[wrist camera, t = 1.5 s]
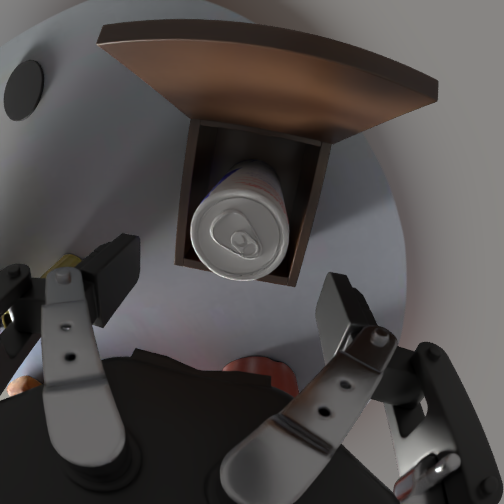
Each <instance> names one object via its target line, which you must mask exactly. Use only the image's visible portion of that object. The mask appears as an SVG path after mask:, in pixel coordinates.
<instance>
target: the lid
mask: <svg viewBox="0 0 504 504" xmlns="http://www.w3.org/2000/svg"><path fill="white" fill-rule="evenodd" d="M96 45H97V46H99V47H100V48H102V49H103V50H104V51H106V52H107V53H108V54H110V55H111V56H112V57H114V58H115V59H116V60H118V61H119V62H120V63H122V64H123V65H124V66H125V67H127V68H128V69H129V70H131V71H132V72H133V73H134V74H136V75H137V76H138V77H140V78H141V79H142V80H143V81H145V82H146V83H147V84H148V85H150V86H151V87H152V88H153V89H154V90H156V91H157V92H158V93H159V94H161V95H162V96H163V97H164V98H166V99H167V100H168V101H169V102H170V103H172V104H173V105H174V106H175V107H176V108H178V109H179V110H180V111H181V112H182V113H183V114H185V115H186V116H187V117H188V118H191V119H200V120H208V121H216V122H223V123H230V124H237V125H243V126H249V127H255V128H261V129H266V130H271V131H277V132H281V133H286V134H291V135H296V136H300V137H305V138H309V139H313V140H317V141H321V142H325V143H329V144H335V143H338V142H340V141H342V140H344V139H347V138H349V137H351V136H353V135H356V134H358V133H360V132H362V131H365V130H367V129H369V128H372V127H374V126H377V125H379V124H381V123H384V122H386V121H389V120H391V119H393V118H396V117H398V116H401V115H403V114H406V113H408V112H411V111H414V110H416V109H419V108H421V107H424V106H426V105H429V104H432V103H435V102H437V100H438V80H436V79H434V78H432V77H430V76H428V75H426V74H424V73H422V72H419V71H417V70H415V69H413V68H411V67H409V66H406V65H404V64H401V63H399V62H397V61H394V60H392V59H389V58H387V57H384V56H382V55H379V54H376V53H373V52H371V51H368V50H365V49H362V48H359V47H356V46H353V45H350V44H346V43H343V42H339V41H336V40H332V39H329V38H325V37H321V36H317V35H313V34H309V33H304V32H300V31H295V30H290V29H285V28H279V27H273V26H267V25H260V24H252V23H244V22H234V21H222V20H203V19H163V20H145V21H133V22H123V23H115V24H107V25H103V27H102V29H101V32H100V34H99V37H98V40H97V43H96Z"/></svg>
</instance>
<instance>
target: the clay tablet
mask: <svg viewBox="0 0 504 504" xmlns="http://www.w3.org/2000/svg"><path fill="white" fill-rule="evenodd" d="M39 385H42V384H41V383H40V382H39V381H37V380H36V379H34V378H32V377H30V376H27V375H26V376H22V377H19V378H17V379H15V380H14V381H12V382H11V383H10V384H9V385H8V387H7V392H8V394H9V395H10V397H11V396H14V395H16V394H19V393H22V392H24V391H27V390H29V389H32V388H34V387H37V386H39Z"/></svg>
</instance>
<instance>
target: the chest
mask: <svg viewBox="0 0 504 504" xmlns="http://www.w3.org/2000/svg"><path fill="white" fill-rule="evenodd" d="M331 146H332V144H329V143H325V142H321V141H317V140H313V139H309V138H305V137H300V136H296V135H291V134H286V133H281V132H277V131H271V130H266V129H261V128H255V127H249V126H243V125H237V124H230V123H223V122H216V121H208V120H200V119H191V120H190V126H189V132H188V139H187V146H186V153H185V160H184V168H183V176H182V184H181V193H180V202H179V212H178V222H177V234H176V246H175V260H174V265H178V266H184V267H189V268H194V269H199V270H204V271H210V272H213V271H211V270H210V269H209V268H208V267H207V266H206V265H205V264H204V263H203V262H202V261H201V260H200V259H199V257H198V255H197V254H196V252H195V250H194V248H193V245H192V241H191V234H190V231H191V223H192V218H193V215H194V213H195V211H196V209H197V208H198V206H199V205H200V203H201V202H202V200H203V199H204V198H205V197H206V196H207V195H208V193H209V192H210V191H211V190H212V189H213V188H214V187H215V186H216V185H217V183H218V182H219V181H220V180H221V179H222V178H223V177H224V176H225V175H226V174H227V173H228V171H229V170H230V169H231V168H232V167H233V166H234V165H235V164H237V163H238V162H241V161H243V160H247V159H257V160H261V161H264V162H266V163H267V164H269V165H270V166H271V167H272V168H273V169H274V170H275V171H276V173H277V175H278V177H279V180H280V185H281V189H282V194H283V199H284V203H285V208H286V213H287V217H288V223H289V243H288V248H287V252H286V254H285V256H284V258H283V260H282V262H281V263H280V264H279V265H278V266H277V268H276V269H274V270H273V271H272V272H271V273H269V274H268V275H266V276H264V277H261V278H258V279H255V280H258V281H263V282H269V283H274V284H280V285H287V286H292V287H295V286H296V283H297V280H298V276H299V273H300V269H301V266H302V262H303V259H304V255H305V251H306V248H307V244H308V240H309V236H310V233H311V229H312V225H313V221H314V217H315V213H316V209H317V205H318V201H319V197H320V193H321V189H322V185H323V181H324V177H325V172H326V168H327V164H328V159H329V155H330V150H331Z"/></svg>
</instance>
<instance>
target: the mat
mask: <svg viewBox="0 0 504 504" xmlns="http://www.w3.org/2000/svg"><path fill="white" fill-rule="evenodd" d="M43 86H44V74H43V69H42V67H41V65H40V64H39V63H38V62H36V61H33V60H28V61H25V62H23V63H21V64H20V65H18V66H17V67H16V69H15V70H14V71H13V72H12V74H11V76H10V78H9V80H8V82H7V85H6V88H5V93H4V108H5V111H6V114H7V116H8V117H9V118H10V119H11V120H13V121H22V120H24V119H26V118H27V117H29V116H30V115H31V114H32V112H33V111H34V110H35V108H36V107H37V105H38V103H39V100H40V98H41V95H42V91H43Z"/></svg>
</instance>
